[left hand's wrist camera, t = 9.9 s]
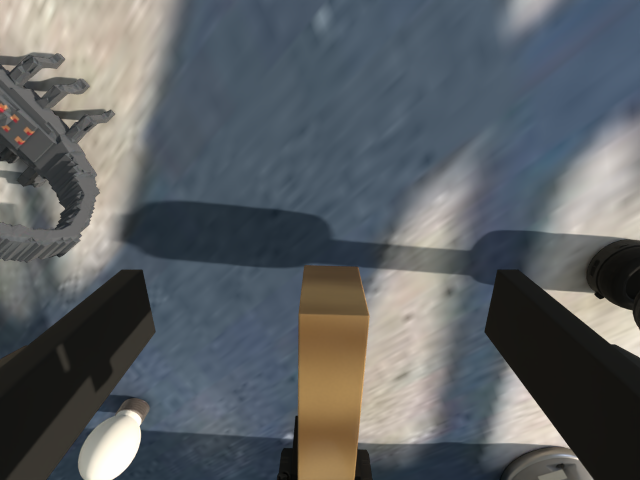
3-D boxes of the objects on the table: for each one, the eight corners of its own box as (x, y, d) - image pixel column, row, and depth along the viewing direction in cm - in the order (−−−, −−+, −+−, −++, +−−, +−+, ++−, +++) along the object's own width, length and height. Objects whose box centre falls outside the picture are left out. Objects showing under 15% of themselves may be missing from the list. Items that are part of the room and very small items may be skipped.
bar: (304, 264, 32) (298, 314, 24) (358, 266, 32) (369, 315, 24) (302, 446, 40) (297, 526, 33) (344, 447, 40) (350, 527, 33)
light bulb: (150, 388, 51) (107, 458, 41) (163, 421, 53) (126, 495, 43) (107, 392, 51) (54, 463, 41) (122, 425, 54) (75, 499, 43)
